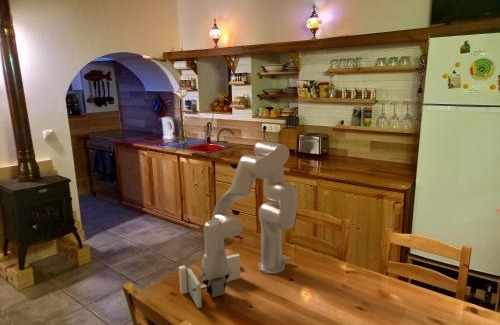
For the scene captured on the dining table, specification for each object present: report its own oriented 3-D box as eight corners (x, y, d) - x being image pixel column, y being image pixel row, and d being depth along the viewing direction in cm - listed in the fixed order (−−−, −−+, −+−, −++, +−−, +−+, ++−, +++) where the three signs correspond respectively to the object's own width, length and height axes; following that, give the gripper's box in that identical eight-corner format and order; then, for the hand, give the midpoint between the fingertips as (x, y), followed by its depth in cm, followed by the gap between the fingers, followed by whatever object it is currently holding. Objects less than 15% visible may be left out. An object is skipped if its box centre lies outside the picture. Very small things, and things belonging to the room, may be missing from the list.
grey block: (219, 288, 151) (219, 274, 150) (224, 294, 147) (223, 279, 146) (208, 291, 149) (207, 277, 148) (212, 297, 145) (212, 283, 144)
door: (201, 307, 140) (200, 283, 137) (194, 309, 138) (193, 285, 136) (190, 287, 153) (189, 266, 150) (184, 289, 152) (182, 267, 149)
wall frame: (238, 275, 162) (237, 252, 160) (240, 278, 160) (239, 254, 158) (180, 291, 151) (178, 266, 149) (181, 294, 149) (180, 269, 146)
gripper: (230, 242, 151) (231, 281, 155) (191, 251, 144) (193, 292, 148) (237, 250, 144) (239, 290, 148) (196, 260, 137) (199, 302, 141)
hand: (216, 291), depth 148 cm, fingers closed on grey block, 4 cm apart
